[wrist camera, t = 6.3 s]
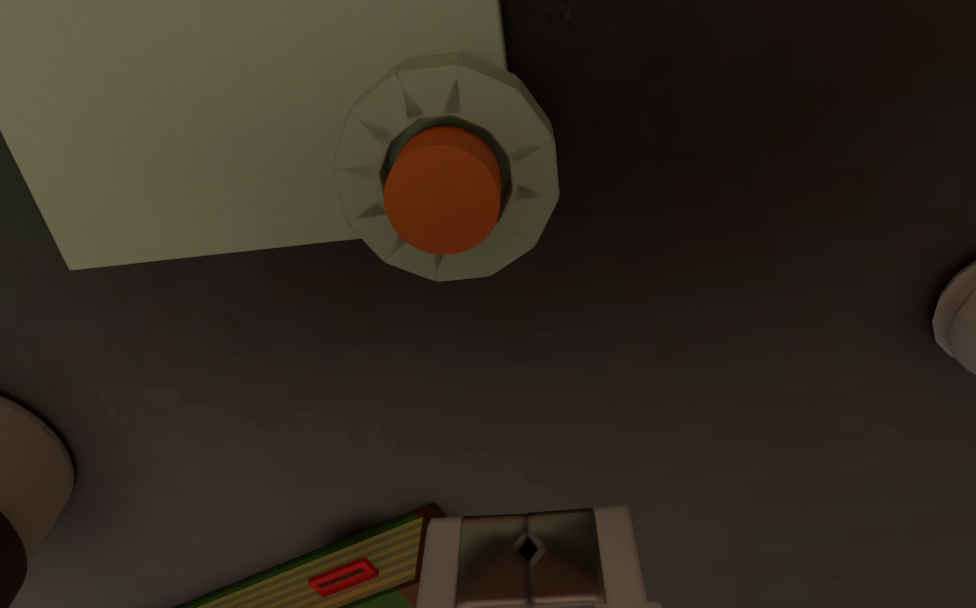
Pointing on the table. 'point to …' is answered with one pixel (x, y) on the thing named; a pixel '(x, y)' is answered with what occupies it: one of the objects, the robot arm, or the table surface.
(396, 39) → the scale
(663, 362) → the table surface
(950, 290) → the rook chess piece
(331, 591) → the hardcover book
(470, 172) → the button
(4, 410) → the coffee cup
